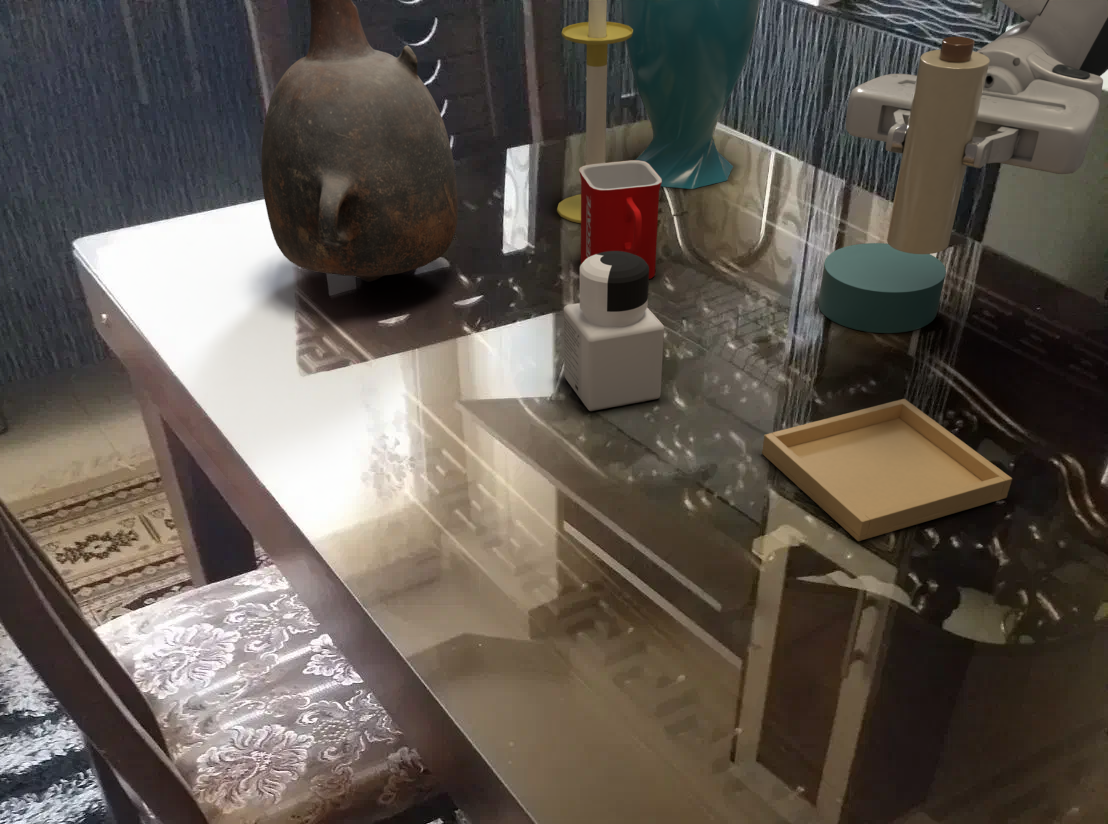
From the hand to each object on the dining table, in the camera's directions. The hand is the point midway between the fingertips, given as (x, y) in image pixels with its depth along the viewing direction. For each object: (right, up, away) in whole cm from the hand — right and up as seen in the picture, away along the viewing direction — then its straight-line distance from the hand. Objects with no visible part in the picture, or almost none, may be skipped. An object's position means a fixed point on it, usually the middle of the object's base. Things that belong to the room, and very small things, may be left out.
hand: (933, 149), depth 93 cm
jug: (-52, +7, +43) cm, 68 cm away
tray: (-1, -24, +12) cm, 26 cm away
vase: (-13, +32, +67) cm, 76 cm away
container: (-25, -12, +24) cm, 36 cm away
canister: (+1, -5, +6) cm, 8 cm away
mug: (-22, +7, +43) cm, 49 cm away
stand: (+6, +1, +36) cm, 36 cm away
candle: (-25, +22, +58) cm, 67 cm away
